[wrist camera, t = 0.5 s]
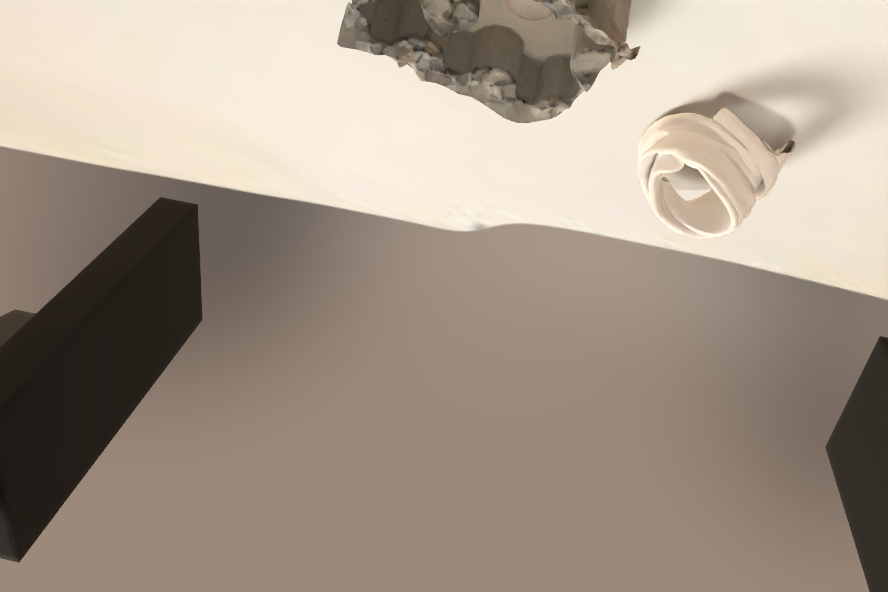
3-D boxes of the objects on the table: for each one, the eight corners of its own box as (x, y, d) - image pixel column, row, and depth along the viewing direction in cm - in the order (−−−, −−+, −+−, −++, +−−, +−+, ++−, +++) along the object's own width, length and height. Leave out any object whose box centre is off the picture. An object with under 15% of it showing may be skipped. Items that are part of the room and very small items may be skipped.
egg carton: (660, -22, 33) (654, 59, 32) (554, 80, 40) (544, 152, 38) (416, -159, 30) (395, -75, 28) (342, -22, 36) (321, 53, 34)
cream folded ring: (717, 188, 46) (718, 270, 45) (604, 161, 45) (602, 246, 43) (816, 116, 39) (822, 211, 38) (686, 81, 38) (687, 179, 36)
